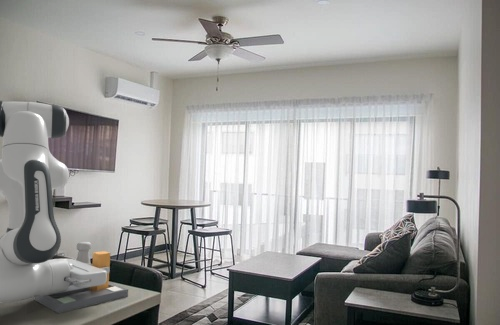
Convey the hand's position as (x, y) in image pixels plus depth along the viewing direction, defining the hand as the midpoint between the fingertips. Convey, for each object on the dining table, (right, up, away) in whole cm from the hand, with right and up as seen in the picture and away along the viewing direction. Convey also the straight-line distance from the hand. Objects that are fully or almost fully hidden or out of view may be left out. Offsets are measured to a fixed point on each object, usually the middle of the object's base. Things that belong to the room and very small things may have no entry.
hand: (103, 267), depth 112 cm
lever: (-1, -6, -1) cm, 6 cm away
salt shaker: (-11, -8, +9) cm, 16 cm away
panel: (-4, -7, -5) cm, 10 cm away
